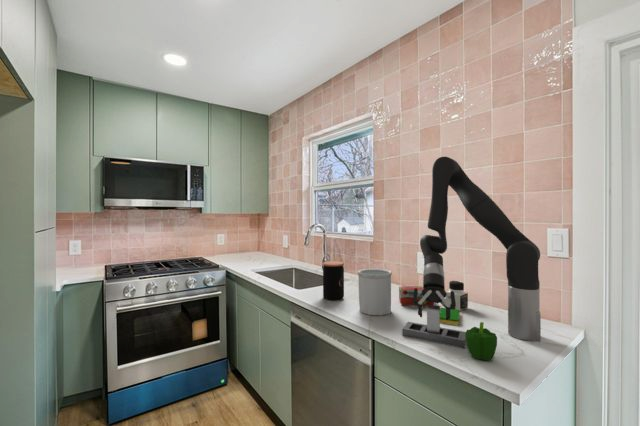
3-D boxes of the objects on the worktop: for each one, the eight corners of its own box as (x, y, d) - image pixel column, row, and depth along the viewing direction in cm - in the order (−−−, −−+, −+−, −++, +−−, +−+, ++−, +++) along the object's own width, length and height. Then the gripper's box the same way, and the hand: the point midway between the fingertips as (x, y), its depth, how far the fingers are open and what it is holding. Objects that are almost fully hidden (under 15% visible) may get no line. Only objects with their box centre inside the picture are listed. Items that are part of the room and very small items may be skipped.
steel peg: (440, 334, 107) (440, 306, 106) (439, 338, 103) (439, 309, 103) (427, 332, 108) (427, 304, 108) (426, 336, 104) (426, 308, 104)
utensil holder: (351, 308, 137) (351, 269, 137) (377, 303, 144) (377, 267, 144) (371, 318, 124) (371, 276, 124) (399, 312, 131) (398, 272, 131)
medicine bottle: (460, 311, 132) (460, 284, 132) (445, 307, 138) (444, 281, 138) (468, 308, 137) (468, 281, 137) (452, 304, 142) (452, 278, 142)
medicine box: (430, 302, 147) (430, 285, 147) (434, 307, 139) (434, 289, 139) (398, 300, 149) (398, 284, 149) (401, 306, 141) (400, 288, 141)
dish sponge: (438, 323, 119) (438, 317, 119) (441, 312, 132) (441, 307, 132) (458, 326, 116) (458, 320, 116) (459, 315, 129) (459, 309, 129)
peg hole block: (466, 339, 104) (466, 332, 104) (464, 348, 97) (464, 340, 97) (408, 327, 114) (408, 321, 114) (402, 335, 107) (402, 328, 107)
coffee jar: (343, 301, 148) (342, 264, 148) (321, 300, 149) (321, 264, 149) (344, 295, 158) (344, 261, 158) (324, 294, 160) (324, 260, 160)
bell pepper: (489, 367, 85) (489, 331, 85) (460, 356, 92) (460, 323, 92) (502, 358, 90) (502, 325, 90) (474, 348, 97) (474, 317, 97)
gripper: (413, 270, 115) (412, 310, 104) (454, 273, 110) (457, 314, 99) (414, 281, 120) (412, 320, 109) (453, 284, 115) (455, 325, 104)
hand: (433, 317), depth 104 cm, fingers open, 8 cm apart
